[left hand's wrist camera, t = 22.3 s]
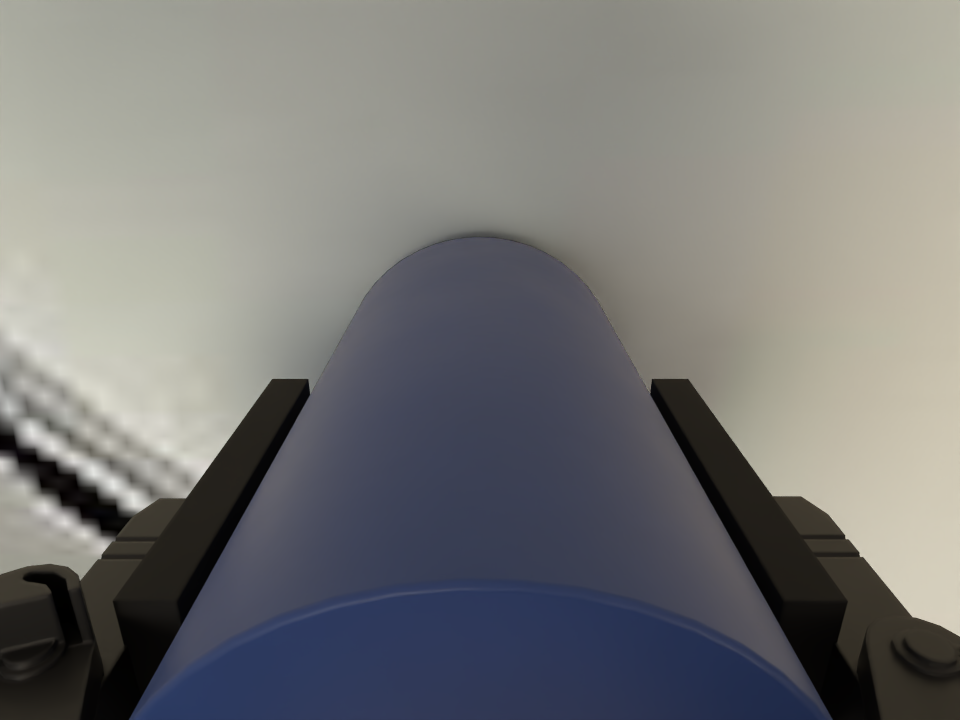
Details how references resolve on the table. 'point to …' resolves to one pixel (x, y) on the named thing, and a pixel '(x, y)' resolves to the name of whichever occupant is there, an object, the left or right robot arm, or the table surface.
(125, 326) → the table surface
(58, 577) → the left robot arm
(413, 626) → the can
